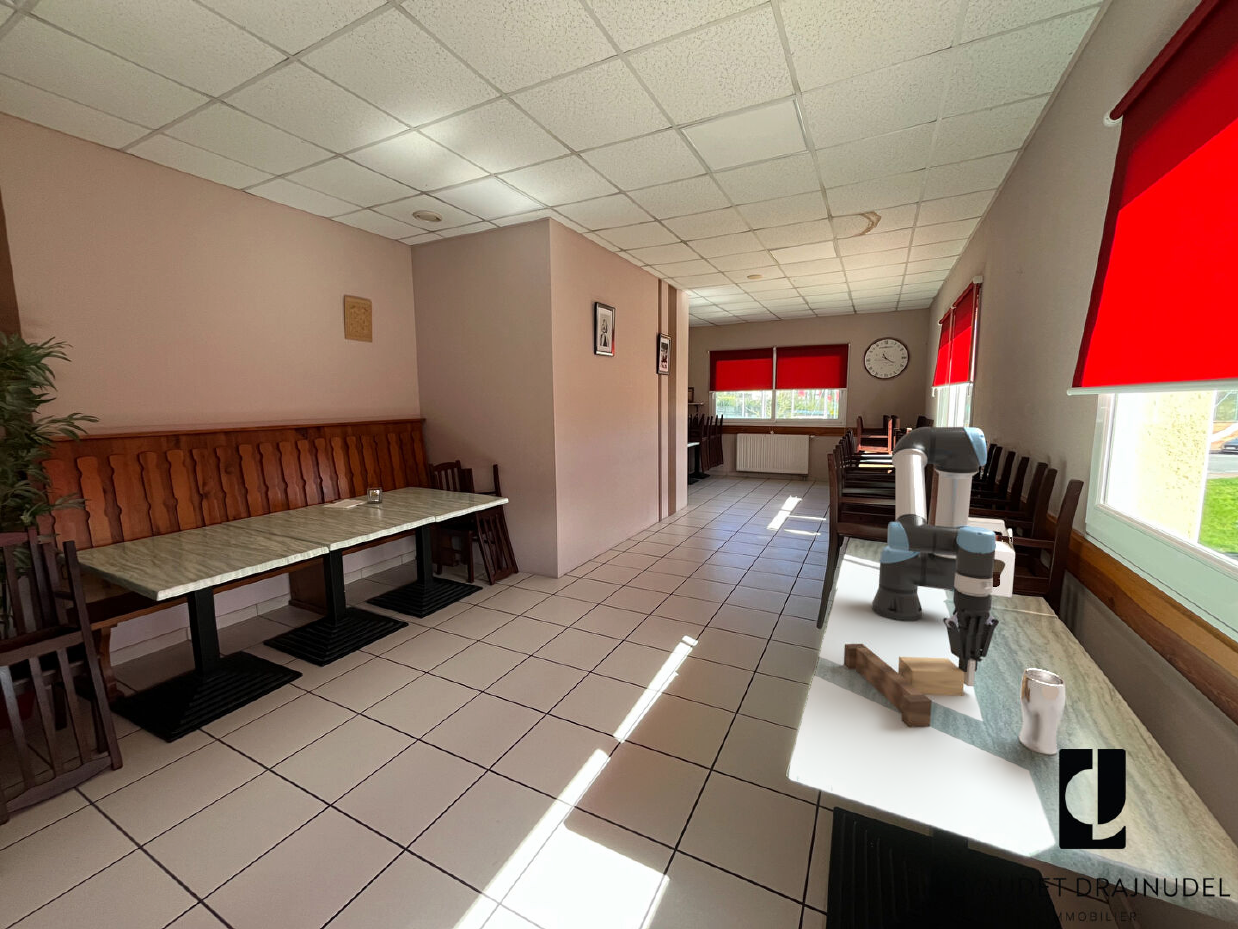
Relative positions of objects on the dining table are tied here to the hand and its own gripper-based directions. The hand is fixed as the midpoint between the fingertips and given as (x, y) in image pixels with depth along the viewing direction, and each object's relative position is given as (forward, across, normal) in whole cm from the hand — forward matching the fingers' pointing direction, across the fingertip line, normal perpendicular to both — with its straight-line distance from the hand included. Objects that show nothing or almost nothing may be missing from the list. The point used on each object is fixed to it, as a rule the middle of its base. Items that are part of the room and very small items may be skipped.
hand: (966, 683), depth 121 cm
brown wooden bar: (+2, -20, +1) cm, 20 cm away
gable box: (+2, +59, +67) cm, 89 cm away
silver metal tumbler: (+2, -1, -20) cm, 20 cm away
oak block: (+2, -8, +3) cm, 8 cm away
